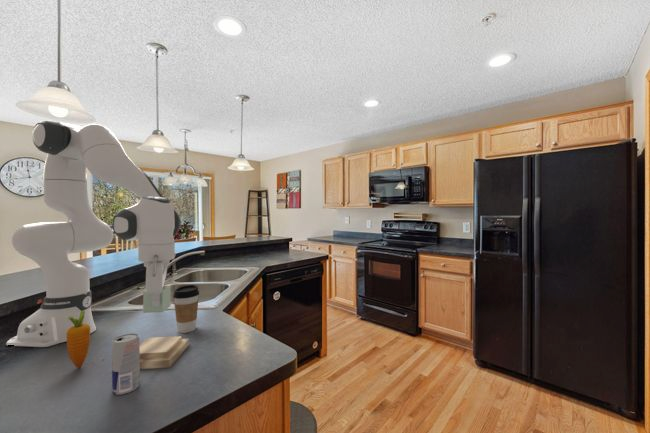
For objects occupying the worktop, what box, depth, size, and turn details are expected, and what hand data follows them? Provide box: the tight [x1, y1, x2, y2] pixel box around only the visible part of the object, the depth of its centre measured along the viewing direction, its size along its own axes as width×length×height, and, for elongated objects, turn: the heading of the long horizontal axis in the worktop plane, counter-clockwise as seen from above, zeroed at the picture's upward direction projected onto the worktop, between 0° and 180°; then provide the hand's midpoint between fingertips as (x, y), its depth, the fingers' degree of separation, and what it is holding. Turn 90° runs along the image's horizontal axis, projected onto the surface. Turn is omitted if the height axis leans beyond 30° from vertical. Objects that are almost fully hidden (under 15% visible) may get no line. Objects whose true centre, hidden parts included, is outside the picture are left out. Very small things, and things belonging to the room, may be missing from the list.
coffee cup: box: [172, 284, 200, 334], centre depth 100 cm, size 8×8×15 cm
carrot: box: [66, 311, 91, 369], centre depth 75 cm, size 5×5×15 cm
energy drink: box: [111, 333, 141, 396], centre depth 66 cm, size 5×5×12 cm
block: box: [142, 285, 171, 314], centre depth 79 cm, size 5×5×6 cm
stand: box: [139, 335, 190, 370], centre depth 81 cm, size 13×13×4 cm
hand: (157, 301), depth 80 cm, fingers closed on block, 6 cm apart
